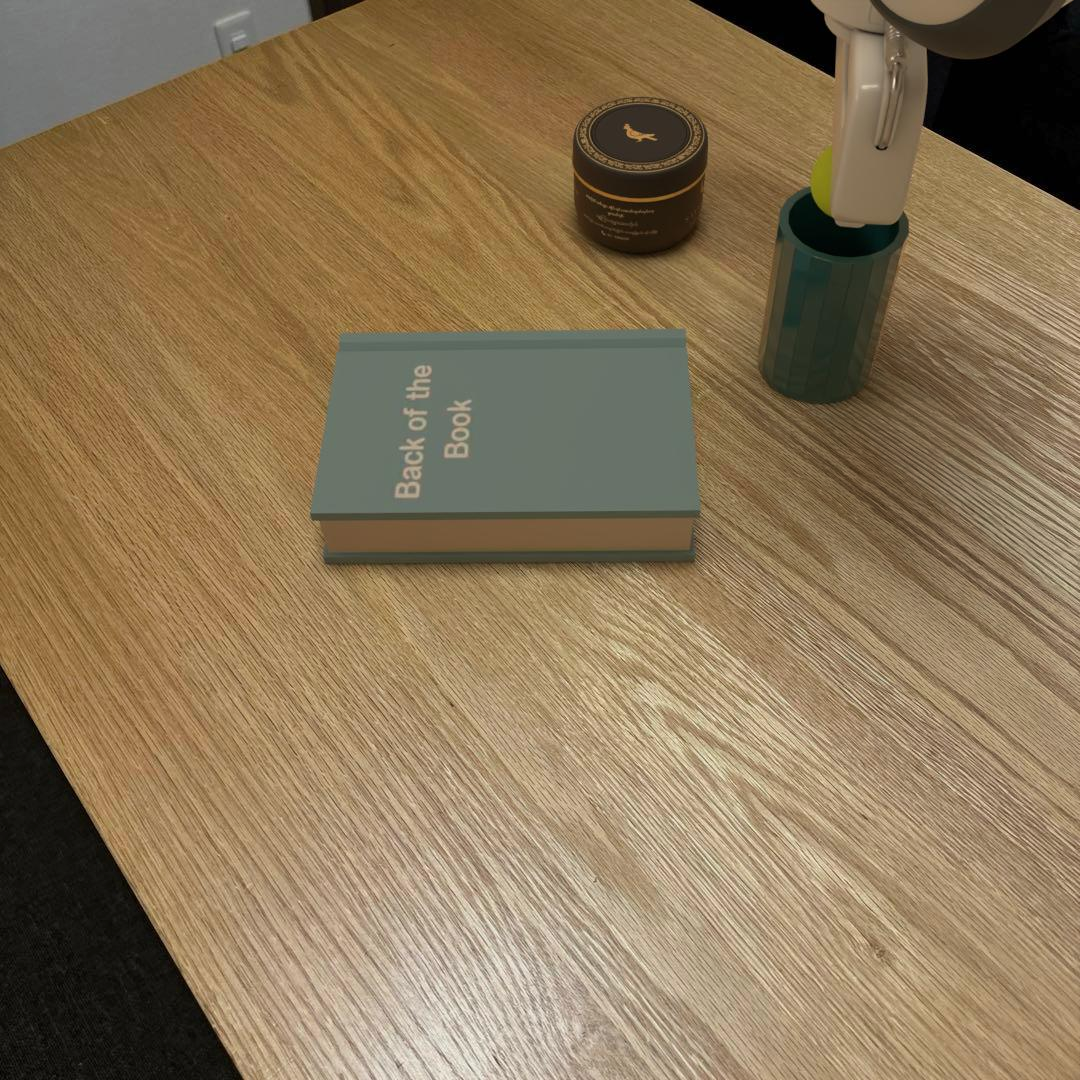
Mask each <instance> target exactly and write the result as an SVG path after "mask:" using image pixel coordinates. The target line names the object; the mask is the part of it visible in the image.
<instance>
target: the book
mask: <svg viewBox="0 0 1080 1080" xmlns="http://www.w3.org/2000/svg"><path fill="white" fill-rule="evenodd" d="M686 332H687V331H686V328H631V329H630V328H628V329H627V328H625V329H623V328H621V329H618V328H617V329H614V328H613V329H555V330H553V329H552V330H551V329H549V330H547V329H546V330H545V329H542V330H539V329H538V330H479V331H478V330H474V331H471V330H470V331H467V330H466V331H464V330H463V331H399V332H398V331H396V332H395V331H394V332H389V331H388V332H387V331H386V332H340V333H339V338H338V351H337V352H336V357H335V362H334V367H333V373H332V381H331V386H330V392H329V397H328V404H327V408H326V415H325V421H324V427H323V433H322V439H321V446H320V451H319V457H318V463H317V469H316V474H315V481H314V487H313V492H312V498H311V504H310V510H309V516H310V519H311V521H312V522H319V523H320V524H319V525H320V529H321V532H322V534H323V538H324V541H325V542H324V547H323V555H322V558H323V561H324V562H323V563H324V565H340V564H341V565H349V564H350V565H352V564H356V565H359V564H360V565H362V564H365V565H366V564H367V565H368V564H371V565H372V564H374V565H375V564H482V563H483V564H508V563H509V564H511V563H513V564H516V563H518V564H519V563H521V564H522V563H525V564H526V563H529V564H530V563H648V562H649V563H652V562H653V563H657V562H658V563H660V562H661V563H663V562H665V563H666V562H672V563H673V562H695V561H696V545H695V533H694V532H695V531H694V519H700V518H701V511H702V510H701V509H702V508H701V498H700V497H701V496H700V487H699V486H700V485H699V474H698V463H697V451H696V440H695V425H694V418H693V417H694V414H693V404H692V403H693V402H692V392H691V391H692V390H691V380H690V379H691V378H690V367H689V355H688V347H687V333H686Z"/></svg>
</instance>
